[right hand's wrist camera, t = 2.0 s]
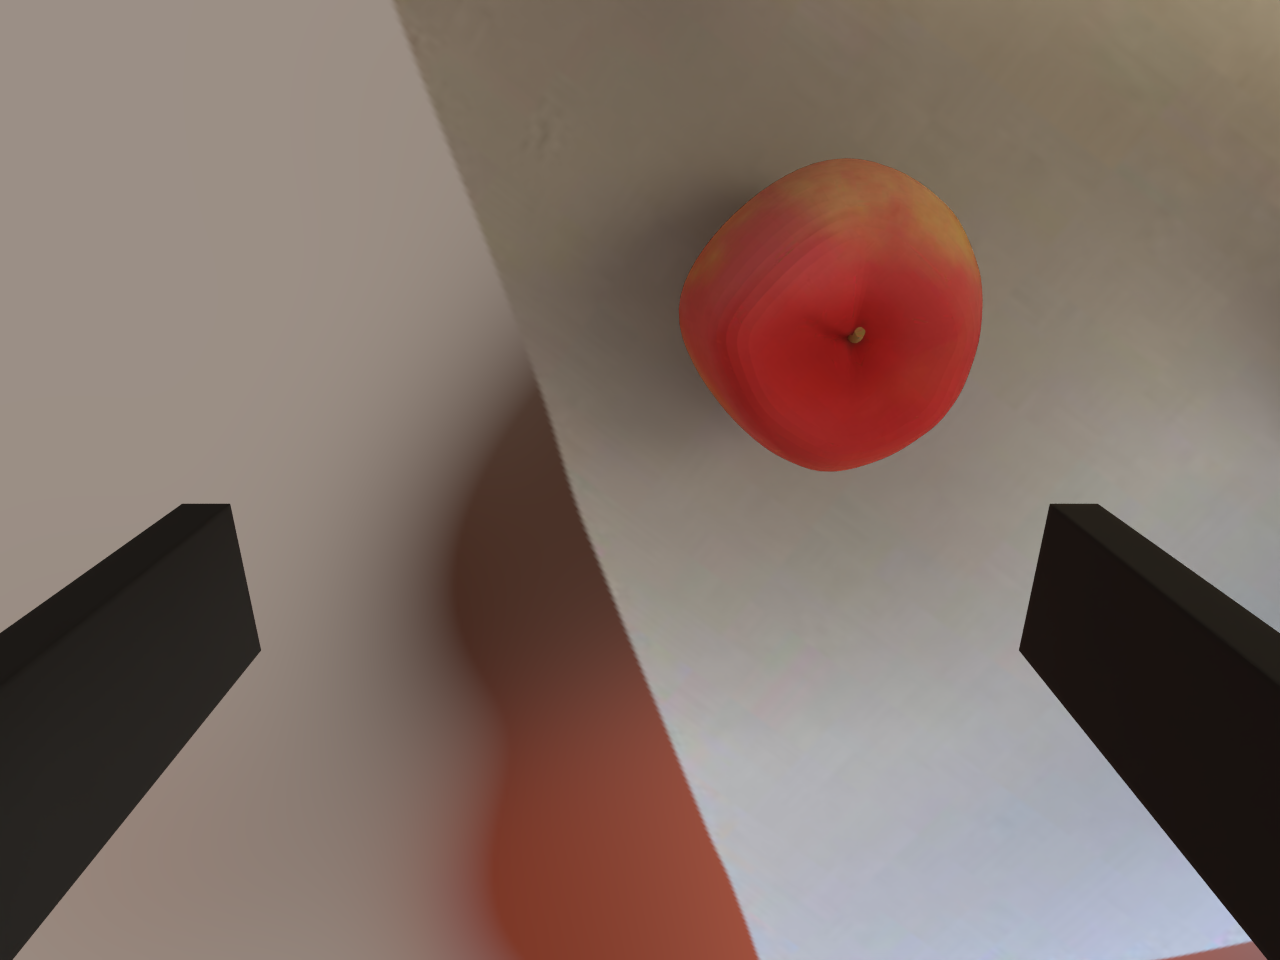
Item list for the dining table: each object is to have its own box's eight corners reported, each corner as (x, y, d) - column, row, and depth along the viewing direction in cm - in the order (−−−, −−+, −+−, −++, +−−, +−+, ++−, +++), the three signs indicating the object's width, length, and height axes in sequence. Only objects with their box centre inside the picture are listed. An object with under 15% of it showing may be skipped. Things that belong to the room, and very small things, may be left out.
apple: (927, 382, 32) (1043, 465, 23) (703, 433, 33) (727, 533, 24) (900, 136, 29) (1023, 115, 19) (651, 200, 30) (654, 210, 20)
